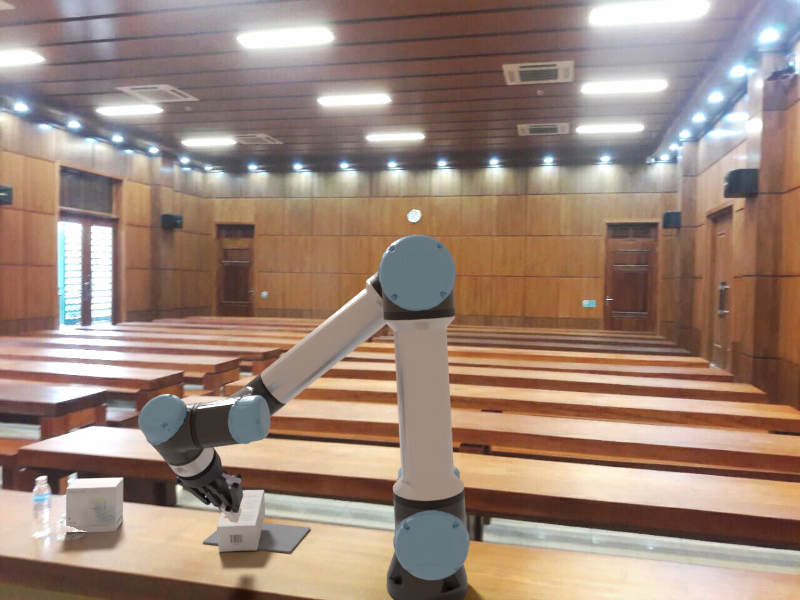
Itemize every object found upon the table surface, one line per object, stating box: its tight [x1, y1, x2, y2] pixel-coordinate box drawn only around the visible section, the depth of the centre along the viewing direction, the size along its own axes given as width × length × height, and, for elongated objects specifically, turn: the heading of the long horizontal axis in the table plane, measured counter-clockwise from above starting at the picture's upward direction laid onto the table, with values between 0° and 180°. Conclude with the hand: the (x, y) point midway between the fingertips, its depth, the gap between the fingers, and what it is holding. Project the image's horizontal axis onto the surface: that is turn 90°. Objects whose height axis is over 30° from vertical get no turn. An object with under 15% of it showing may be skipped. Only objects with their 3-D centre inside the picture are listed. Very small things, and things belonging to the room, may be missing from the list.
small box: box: [216, 489, 266, 553], centre depth 128 cm, size 8×6×13 cm
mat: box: [202, 522, 311, 554], centre depth 130 cm, size 20×12×1 cm, turn 79°
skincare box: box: [65, 477, 124, 533], centre depth 133 cm, size 10×6×10 cm, turn 99°
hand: (236, 516), depth 120 cm, fingers closed
